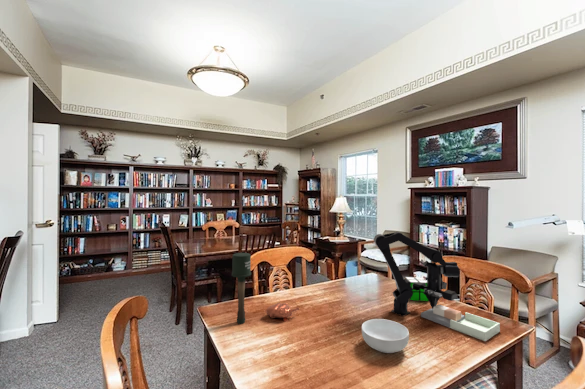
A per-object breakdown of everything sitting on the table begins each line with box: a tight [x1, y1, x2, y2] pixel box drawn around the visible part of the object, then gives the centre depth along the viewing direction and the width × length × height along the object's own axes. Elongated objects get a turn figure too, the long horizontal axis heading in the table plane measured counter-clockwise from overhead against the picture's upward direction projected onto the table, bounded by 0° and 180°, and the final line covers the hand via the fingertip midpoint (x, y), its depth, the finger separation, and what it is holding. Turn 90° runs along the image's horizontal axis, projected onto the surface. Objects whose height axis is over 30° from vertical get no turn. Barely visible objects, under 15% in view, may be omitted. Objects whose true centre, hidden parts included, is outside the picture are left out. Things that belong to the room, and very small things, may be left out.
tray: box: [449, 311, 501, 342], centre depth 117 cm, size 14×13×4 cm
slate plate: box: [420, 307, 465, 329], centre depth 128 cm, size 14×13×2 cm
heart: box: [265, 302, 300, 323], centre depth 129 cm, size 6×12×15 cm
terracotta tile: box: [444, 307, 462, 321], centre depth 124 cm, size 5×5×3 cm
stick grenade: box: [231, 252, 252, 325], centre depth 122 cm, size 8×9×30 cm
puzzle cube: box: [404, 276, 429, 302], centre depth 154 cm, size 10×10×10 cm
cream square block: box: [433, 304, 450, 317], centre depth 128 cm, size 5×5×3 cm
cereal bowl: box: [361, 318, 410, 354], centre depth 103 cm, size 17×17×7 cm
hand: (433, 308), depth 132 cm, fingers closed
